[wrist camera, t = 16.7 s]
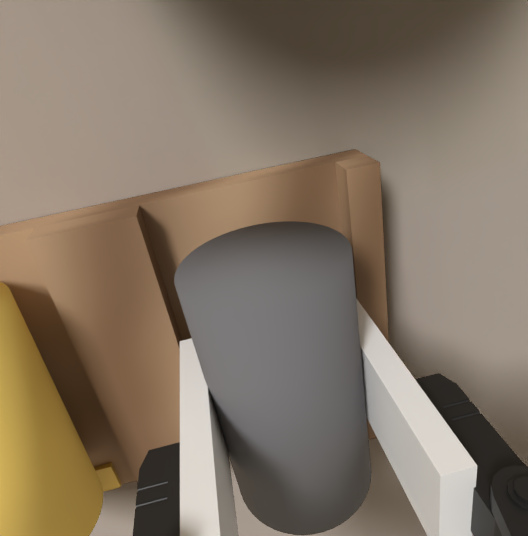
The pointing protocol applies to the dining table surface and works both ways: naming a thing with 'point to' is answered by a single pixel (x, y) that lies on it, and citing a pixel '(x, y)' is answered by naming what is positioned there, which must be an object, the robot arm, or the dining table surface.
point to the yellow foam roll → (39, 443)
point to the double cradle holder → (164, 289)
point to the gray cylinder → (283, 368)
